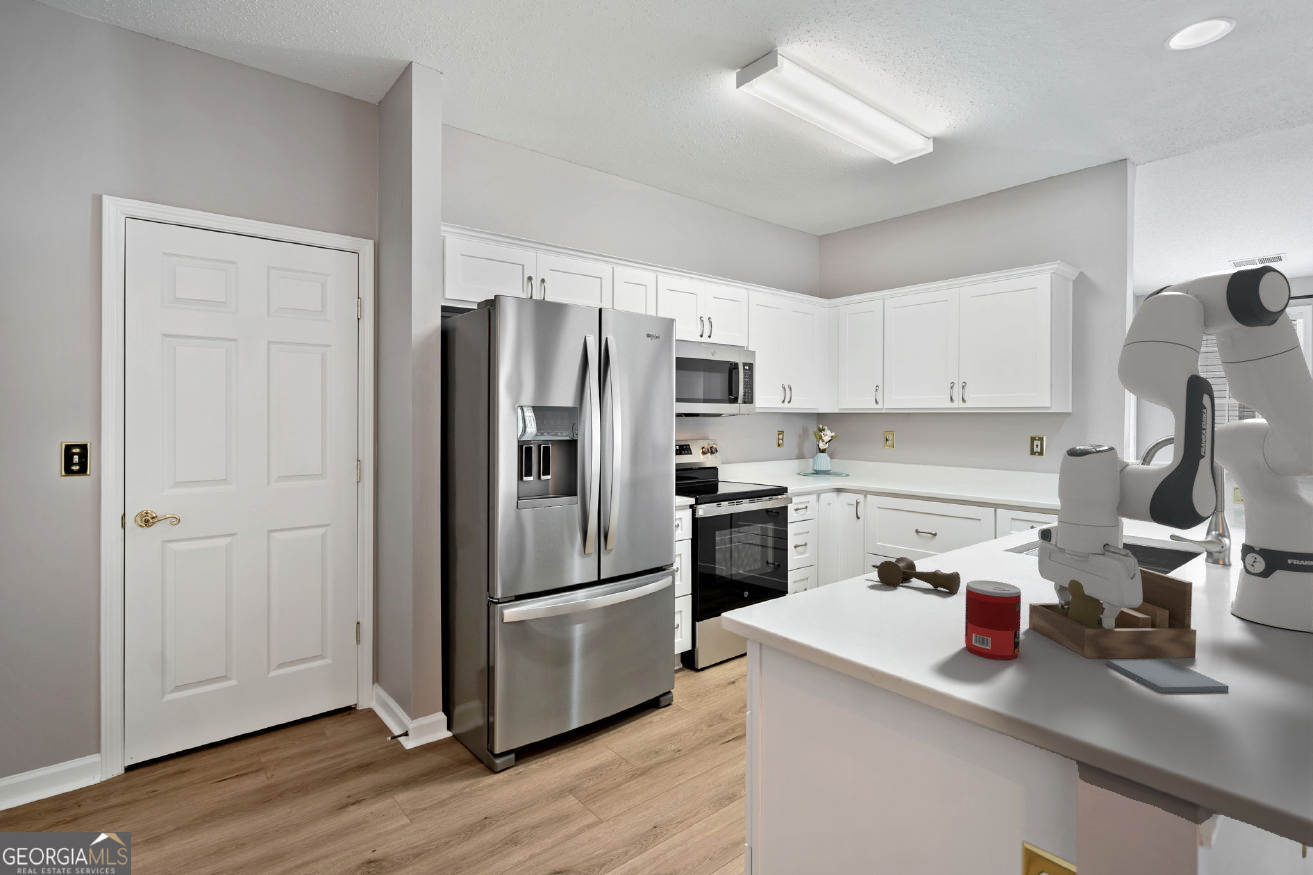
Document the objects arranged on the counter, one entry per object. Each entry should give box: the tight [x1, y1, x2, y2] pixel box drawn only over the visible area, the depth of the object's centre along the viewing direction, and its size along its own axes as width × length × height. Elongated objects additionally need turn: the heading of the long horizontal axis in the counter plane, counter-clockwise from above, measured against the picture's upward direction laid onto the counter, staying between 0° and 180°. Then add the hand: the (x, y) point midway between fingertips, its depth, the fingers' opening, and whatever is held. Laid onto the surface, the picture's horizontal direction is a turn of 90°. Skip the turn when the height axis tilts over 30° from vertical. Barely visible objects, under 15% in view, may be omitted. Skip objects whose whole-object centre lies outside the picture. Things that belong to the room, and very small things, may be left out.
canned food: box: [964, 579, 1022, 661], centre depth 103 cm, size 8×8×11 cm
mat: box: [1106, 658, 1230, 694], centre depth 93 cm, size 10×10×1 cm
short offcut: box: [1100, 600, 1151, 629], centre depth 109 cm, size 2×10×6 cm, turn 3°
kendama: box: [871, 556, 961, 595], centre depth 145 cm, size 6×10×20 cm
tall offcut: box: [1129, 601, 1169, 628], centre depth 109 cm, size 2×10×7 cm, turn 3°
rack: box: [1028, 566, 1197, 660], centre depth 108 cm, size 18×15×12 cm
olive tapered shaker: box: [1068, 580, 1104, 629], centre depth 108 cm, size 6×6×11 cm
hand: (1085, 618), depth 108 cm, fingers open, 8 cm apart
